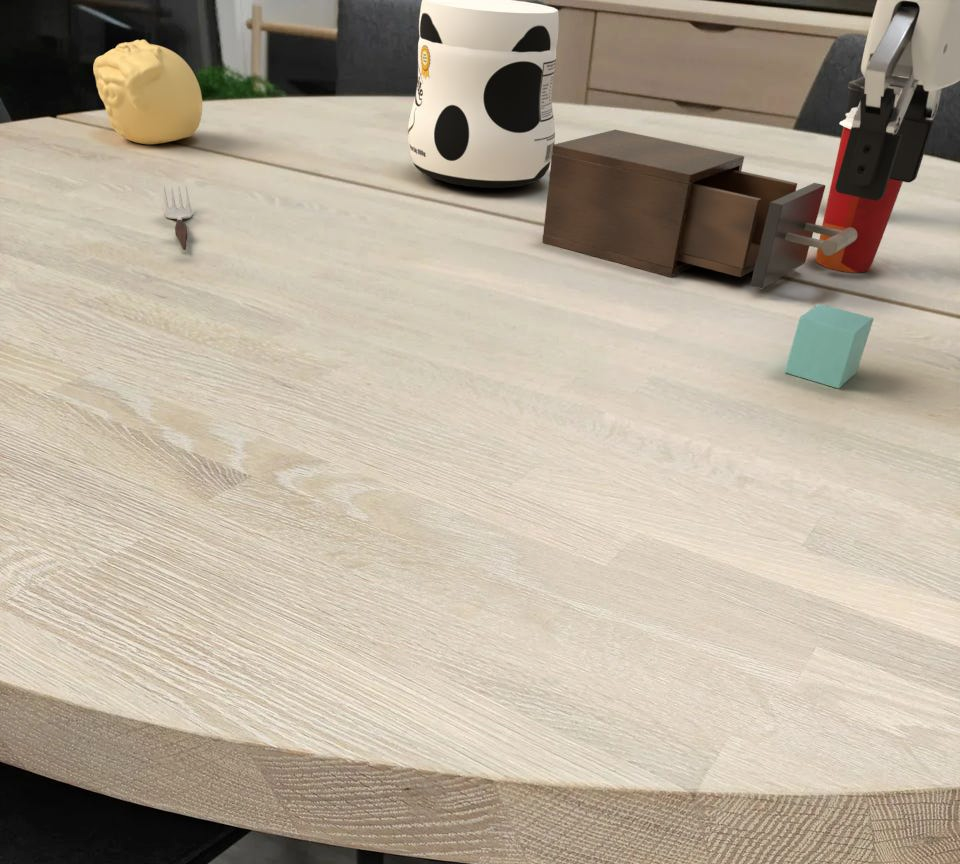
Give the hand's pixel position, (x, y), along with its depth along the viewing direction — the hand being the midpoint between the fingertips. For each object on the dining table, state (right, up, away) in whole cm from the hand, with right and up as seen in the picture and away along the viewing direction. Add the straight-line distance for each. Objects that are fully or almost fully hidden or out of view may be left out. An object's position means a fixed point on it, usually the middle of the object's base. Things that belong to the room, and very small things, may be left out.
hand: (876, 184), depth 70 cm
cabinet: (-12, +9, +32) cm, 36 cm away
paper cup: (+10, +7, +33) cm, 35 cm away
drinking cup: (+17, +20, +51) cm, 57 cm away
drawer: (-2, +5, +27) cm, 28 cm away
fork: (-57, +7, +26) cm, 62 cm away
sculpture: (-68, +30, +55) cm, 93 cm away
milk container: (-28, +24, +50) cm, 62 cm away
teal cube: (-1, -11, +8) cm, 14 cm away
